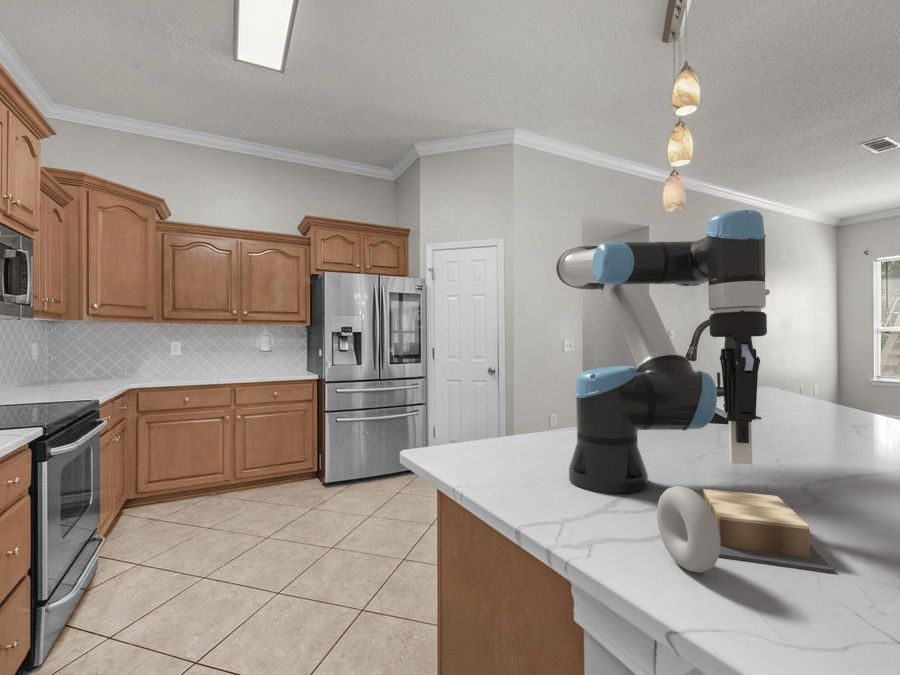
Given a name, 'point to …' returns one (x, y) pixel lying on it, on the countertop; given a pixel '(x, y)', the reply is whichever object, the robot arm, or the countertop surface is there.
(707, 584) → the countertop surface
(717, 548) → the donut
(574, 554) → the countertop surface
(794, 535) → the slab
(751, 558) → the mat
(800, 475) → the countertop surface
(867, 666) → the countertop surface
